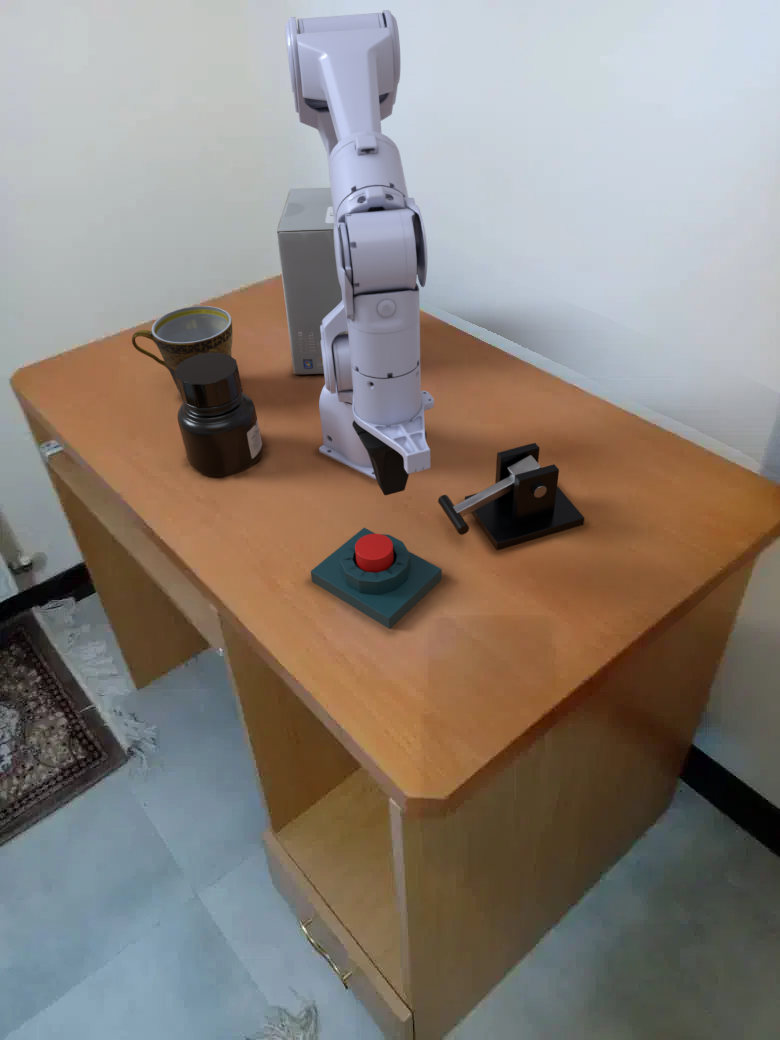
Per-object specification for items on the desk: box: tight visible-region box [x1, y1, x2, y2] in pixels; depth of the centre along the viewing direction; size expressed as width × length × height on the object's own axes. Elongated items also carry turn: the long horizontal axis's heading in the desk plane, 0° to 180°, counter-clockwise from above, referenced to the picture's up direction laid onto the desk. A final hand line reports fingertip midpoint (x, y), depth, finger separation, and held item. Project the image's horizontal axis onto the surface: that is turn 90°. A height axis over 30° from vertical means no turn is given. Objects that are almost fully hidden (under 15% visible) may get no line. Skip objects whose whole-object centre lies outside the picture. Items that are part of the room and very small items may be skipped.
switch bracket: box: [464, 442, 585, 551], centre depth 82 cm, size 10×8×7 cm
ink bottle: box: [175, 353, 263, 477], centre depth 91 cm, size 10×9×12 cm
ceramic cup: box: [131, 305, 233, 396], centre depth 102 cm, size 13×10×10 cm
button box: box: [310, 527, 443, 630], centre depth 77 cm, size 10×8×4 cm
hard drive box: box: [276, 186, 348, 376], centre depth 106 cm, size 16×8×20 cm, turn 179°
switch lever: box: [437, 455, 542, 536], centre depth 81 cm, size 10×5×2 cm, turn 109°
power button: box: [355, 533, 394, 573], centre depth 75 cm, size 4×4×2 cm
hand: (392, 488), depth 74 cm, fingers closed
